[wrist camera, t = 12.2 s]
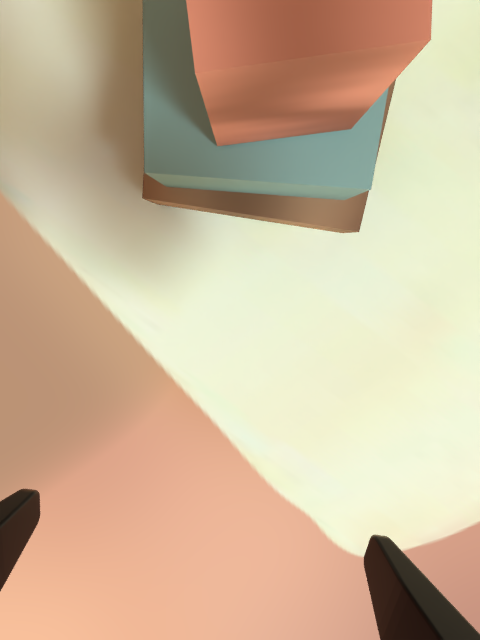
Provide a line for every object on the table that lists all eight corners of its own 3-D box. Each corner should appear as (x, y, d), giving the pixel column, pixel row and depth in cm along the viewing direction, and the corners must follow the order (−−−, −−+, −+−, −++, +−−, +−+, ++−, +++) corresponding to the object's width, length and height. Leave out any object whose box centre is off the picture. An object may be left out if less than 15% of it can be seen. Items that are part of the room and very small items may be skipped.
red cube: (348, -40, 9) (443, -311, 5) (350, 129, 10) (430, 39, 6) (199, -17, 9) (155, -254, 5) (217, 146, 10) (195, 72, 6)
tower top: (378, -26, 11) (423, -116, 8) (344, 200, 13) (370, 189, 11) (168, -41, 11) (141, -136, 9) (166, 186, 13) (144, 172, 11)
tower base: (388, 14, 14) (425, -45, 11) (339, 233, 17) (359, 231, 14) (177, -22, 14) (159, -91, 11) (160, 205, 17) (142, 198, 14)
